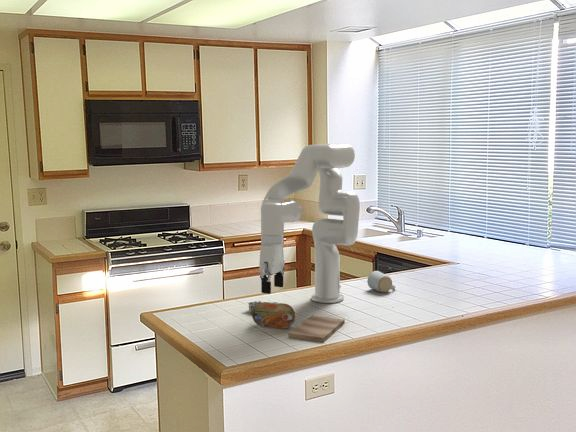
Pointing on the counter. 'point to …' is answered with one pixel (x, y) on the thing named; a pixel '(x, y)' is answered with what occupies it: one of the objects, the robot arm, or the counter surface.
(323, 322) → the walnut board
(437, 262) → the counter surface
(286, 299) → the counter surface
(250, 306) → the egg carton
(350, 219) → the robot arm
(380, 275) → the ceramic mug
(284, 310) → the tin
